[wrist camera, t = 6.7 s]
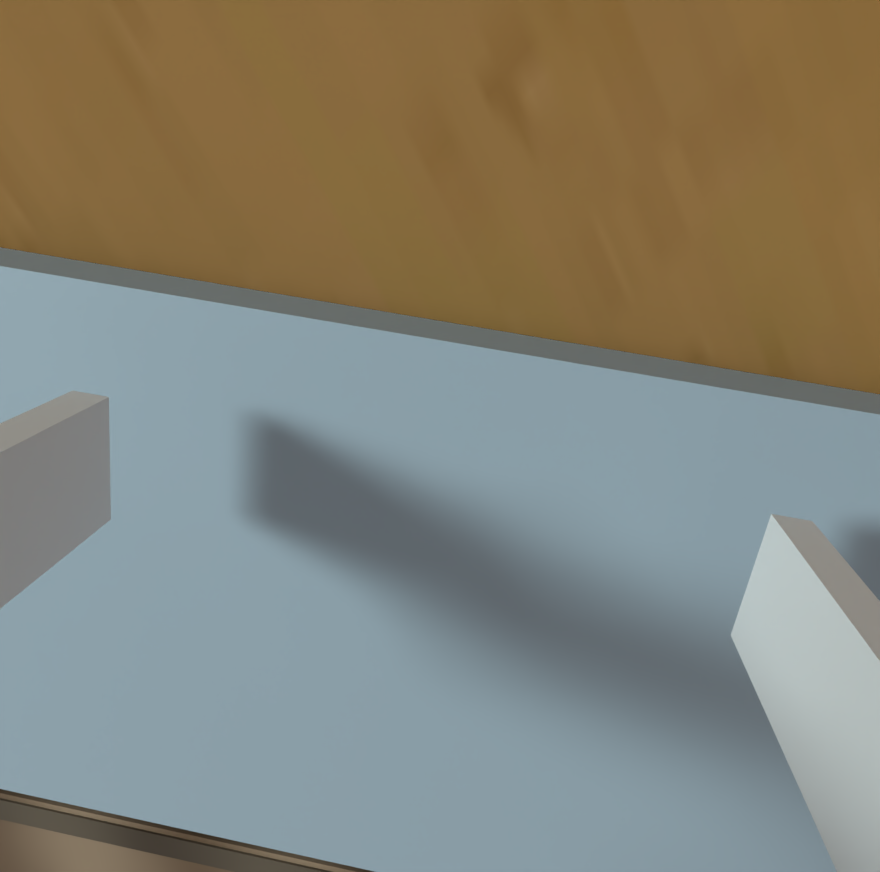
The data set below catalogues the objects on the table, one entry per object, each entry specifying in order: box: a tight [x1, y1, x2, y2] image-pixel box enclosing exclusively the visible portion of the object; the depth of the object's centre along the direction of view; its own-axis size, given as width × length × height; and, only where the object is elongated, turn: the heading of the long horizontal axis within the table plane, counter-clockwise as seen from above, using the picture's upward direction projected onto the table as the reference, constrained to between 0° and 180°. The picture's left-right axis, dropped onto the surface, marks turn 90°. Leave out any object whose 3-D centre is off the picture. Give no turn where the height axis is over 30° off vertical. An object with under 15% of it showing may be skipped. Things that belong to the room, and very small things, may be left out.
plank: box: [0, 248, 880, 872], centre depth 19 cm, size 26×16×2 cm, turn 82°
